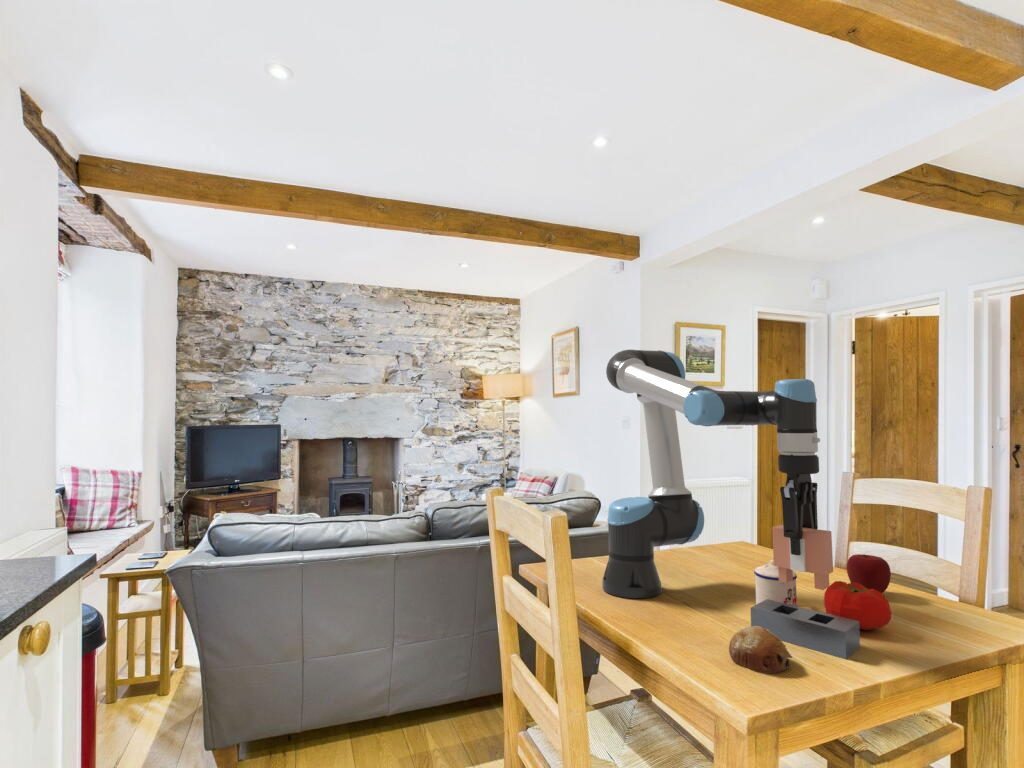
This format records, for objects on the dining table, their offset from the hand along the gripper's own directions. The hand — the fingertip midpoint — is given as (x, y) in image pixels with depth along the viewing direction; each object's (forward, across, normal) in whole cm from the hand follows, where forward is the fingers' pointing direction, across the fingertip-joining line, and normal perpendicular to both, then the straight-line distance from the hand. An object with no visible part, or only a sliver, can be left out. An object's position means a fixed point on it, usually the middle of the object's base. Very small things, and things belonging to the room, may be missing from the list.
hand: (802, 568), depth 114 cm
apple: (+14, +43, 0) cm, 45 cm away
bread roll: (+15, -17, +2) cm, 22 cm away
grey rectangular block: (+14, 0, 0) cm, 14 cm away
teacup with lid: (+14, +14, +11) cm, 23 cm away
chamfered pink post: (+3, 0, 0) cm, 3 cm away
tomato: (+15, +16, -5) cm, 22 cm away
